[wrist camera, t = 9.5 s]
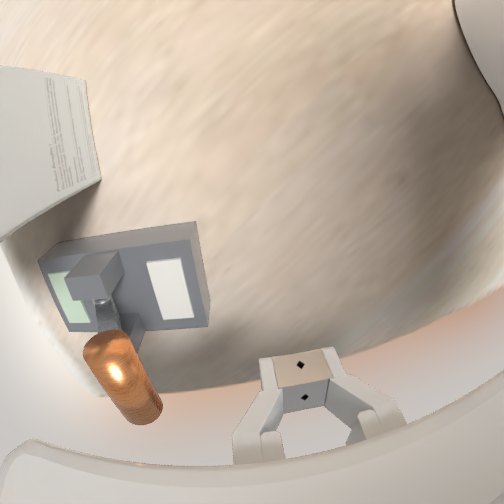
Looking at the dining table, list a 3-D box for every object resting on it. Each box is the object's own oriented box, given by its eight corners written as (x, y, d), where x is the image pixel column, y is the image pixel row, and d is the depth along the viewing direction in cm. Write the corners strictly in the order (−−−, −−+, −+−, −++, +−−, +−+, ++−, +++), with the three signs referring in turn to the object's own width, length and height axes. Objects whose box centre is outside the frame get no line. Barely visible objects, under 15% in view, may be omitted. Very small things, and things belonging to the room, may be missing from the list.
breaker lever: (110, 270, 14) (135, 354, 8) (130, 325, 16) (169, 415, 10) (79, 280, 13) (85, 372, 7) (103, 335, 15) (129, 430, 9)
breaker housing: (195, 221, 17) (181, 263, 12) (210, 300, 20) (206, 358, 14) (58, 242, 17) (15, 281, 12) (83, 308, 19) (54, 356, 14)
